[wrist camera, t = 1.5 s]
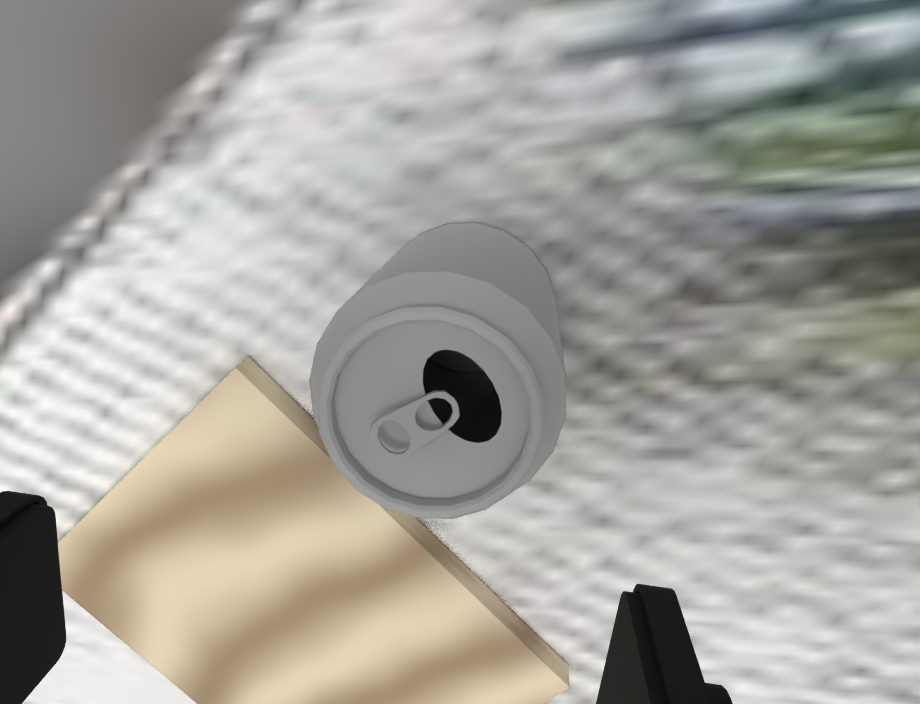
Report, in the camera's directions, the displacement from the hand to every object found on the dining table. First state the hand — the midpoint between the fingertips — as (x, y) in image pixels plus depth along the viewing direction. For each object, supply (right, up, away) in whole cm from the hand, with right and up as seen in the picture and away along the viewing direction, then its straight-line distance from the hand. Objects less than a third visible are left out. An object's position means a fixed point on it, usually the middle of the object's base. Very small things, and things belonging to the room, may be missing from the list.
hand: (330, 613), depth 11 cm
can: (+2, +6, +19) cm, 20 cm away
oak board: (-6, -9, +24) cm, 27 cm away
